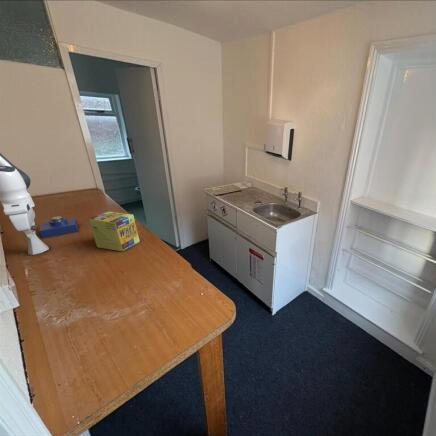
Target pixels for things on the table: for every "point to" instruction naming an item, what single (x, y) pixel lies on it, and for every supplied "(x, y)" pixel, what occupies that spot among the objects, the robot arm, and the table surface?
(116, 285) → the table surface
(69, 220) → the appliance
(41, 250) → the flask
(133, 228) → the protein box
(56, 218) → the button
